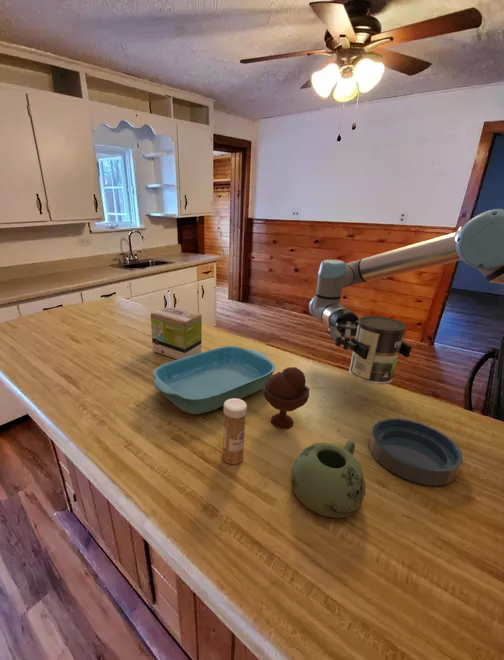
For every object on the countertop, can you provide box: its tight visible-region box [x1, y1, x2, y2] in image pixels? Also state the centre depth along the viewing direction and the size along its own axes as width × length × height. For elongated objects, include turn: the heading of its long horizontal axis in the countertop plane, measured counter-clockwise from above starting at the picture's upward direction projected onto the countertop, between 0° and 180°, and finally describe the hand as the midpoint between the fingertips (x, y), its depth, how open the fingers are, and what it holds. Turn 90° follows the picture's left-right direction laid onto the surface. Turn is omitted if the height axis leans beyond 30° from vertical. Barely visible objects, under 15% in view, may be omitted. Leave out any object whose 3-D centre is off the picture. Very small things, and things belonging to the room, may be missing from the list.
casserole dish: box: [152, 345, 276, 415], centre depth 95 cm, size 37×22×7 cm, turn 127°
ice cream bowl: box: [261, 366, 310, 430], centre depth 80 cm, size 11×11×15 cm
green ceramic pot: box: [291, 439, 366, 519], centre depth 62 cm, size 16×13×9 cm
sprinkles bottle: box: [221, 398, 248, 465], centre depth 69 cm, size 5×5×14 cm
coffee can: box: [348, 315, 407, 385], centre depth 83 cm, size 10×10×14 cm
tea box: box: [150, 306, 203, 360], centre depth 116 cm, size 15×10×15 cm, turn 55°
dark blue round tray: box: [368, 417, 464, 486], centre depth 71 cm, size 16×16×4 cm
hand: (387, 352), depth 79 cm, fingers closed on coffee can, 10 cm apart
